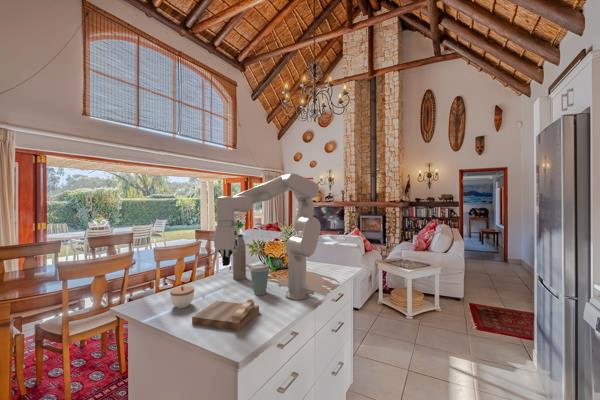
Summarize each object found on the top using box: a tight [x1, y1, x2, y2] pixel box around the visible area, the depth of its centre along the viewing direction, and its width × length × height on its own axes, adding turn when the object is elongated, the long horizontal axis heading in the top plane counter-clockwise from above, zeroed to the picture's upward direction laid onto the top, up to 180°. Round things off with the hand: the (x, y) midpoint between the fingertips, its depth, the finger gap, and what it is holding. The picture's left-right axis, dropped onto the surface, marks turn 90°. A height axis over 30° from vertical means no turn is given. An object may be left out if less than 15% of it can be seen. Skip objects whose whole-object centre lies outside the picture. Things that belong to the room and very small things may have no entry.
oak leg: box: [232, 298, 255, 323], centre depth 115 cm, size 17×3×3 cm, turn 170°
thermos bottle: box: [232, 234, 247, 281], centre depth 176 cm, size 8×8×28 cm
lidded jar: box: [169, 285, 195, 309], centre depth 132 cm, size 11×11×9 cm
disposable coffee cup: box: [249, 264, 270, 296], centre depth 149 cm, size 11×11×15 cm
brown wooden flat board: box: [191, 300, 260, 331], centre depth 119 cm, size 22×18×3 cm
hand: (226, 265), depth 122 cm, fingers closed
